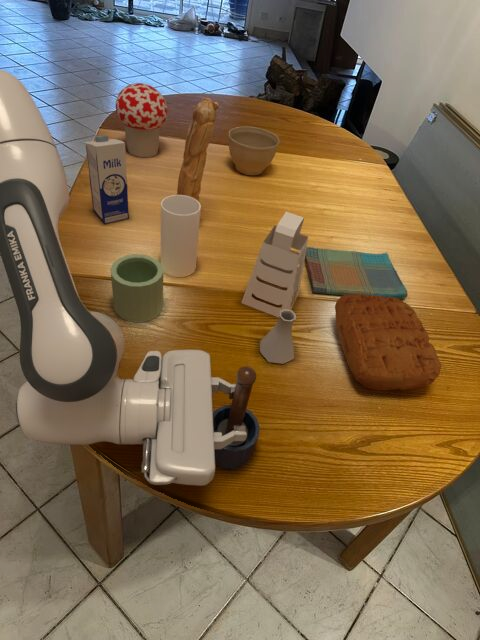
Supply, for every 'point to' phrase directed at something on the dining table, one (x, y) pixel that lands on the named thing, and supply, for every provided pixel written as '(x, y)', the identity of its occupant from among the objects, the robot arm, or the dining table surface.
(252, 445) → the holder
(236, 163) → the planter bowl
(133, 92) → the decorative object
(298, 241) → the grater
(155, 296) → the jar
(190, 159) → the sculpture
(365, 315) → the cuneiform tablet
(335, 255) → the dish towel
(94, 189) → the milk carton
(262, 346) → the flask
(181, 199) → the cup
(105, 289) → the dining table surface
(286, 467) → the dining table surface
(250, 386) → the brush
